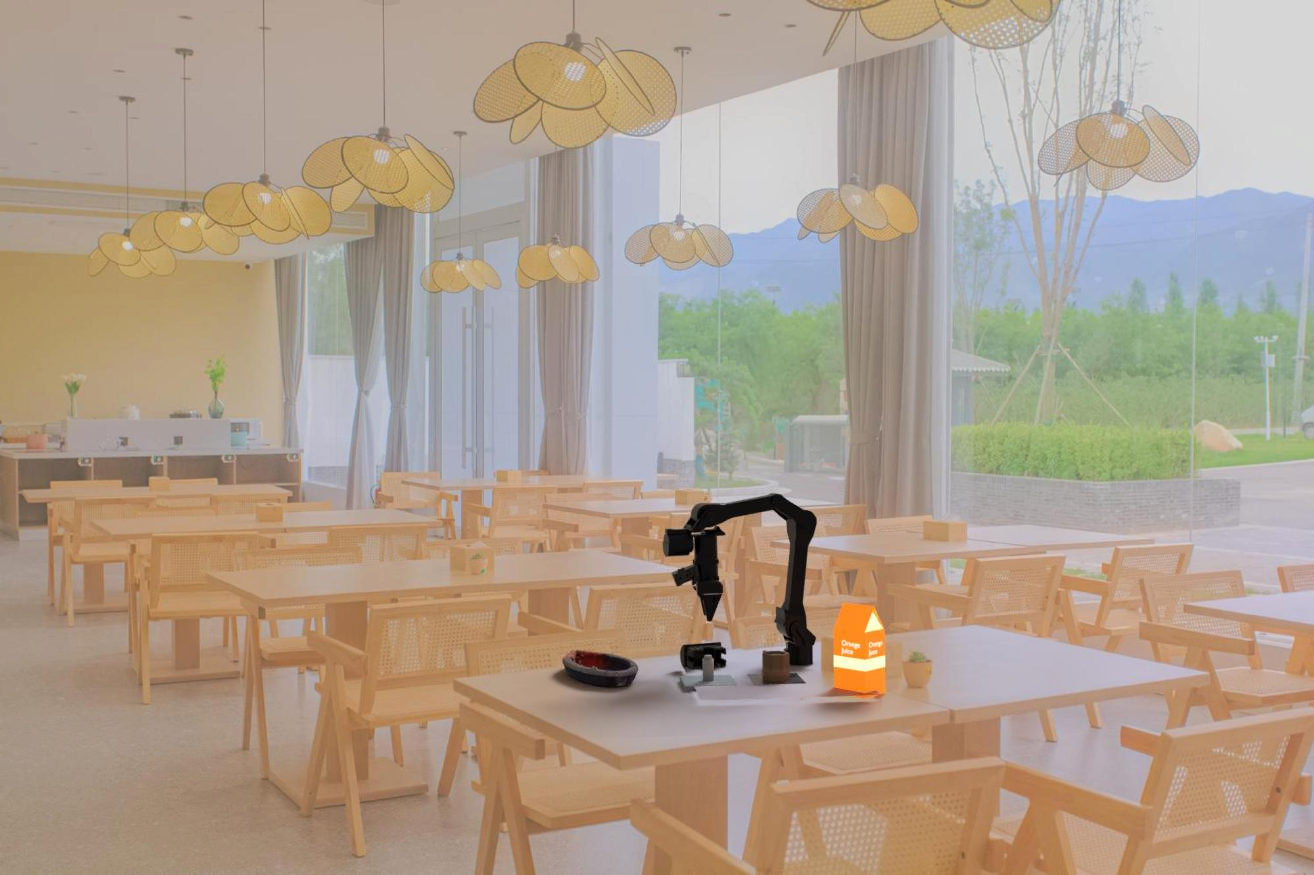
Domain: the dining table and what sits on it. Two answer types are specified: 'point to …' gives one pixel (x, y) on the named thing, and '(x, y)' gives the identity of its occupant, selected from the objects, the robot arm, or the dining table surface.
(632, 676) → the dish
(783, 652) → the sleeve
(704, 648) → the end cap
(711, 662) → the grey peg base
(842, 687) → the orange juice
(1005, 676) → the dining table surface
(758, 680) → the stand
